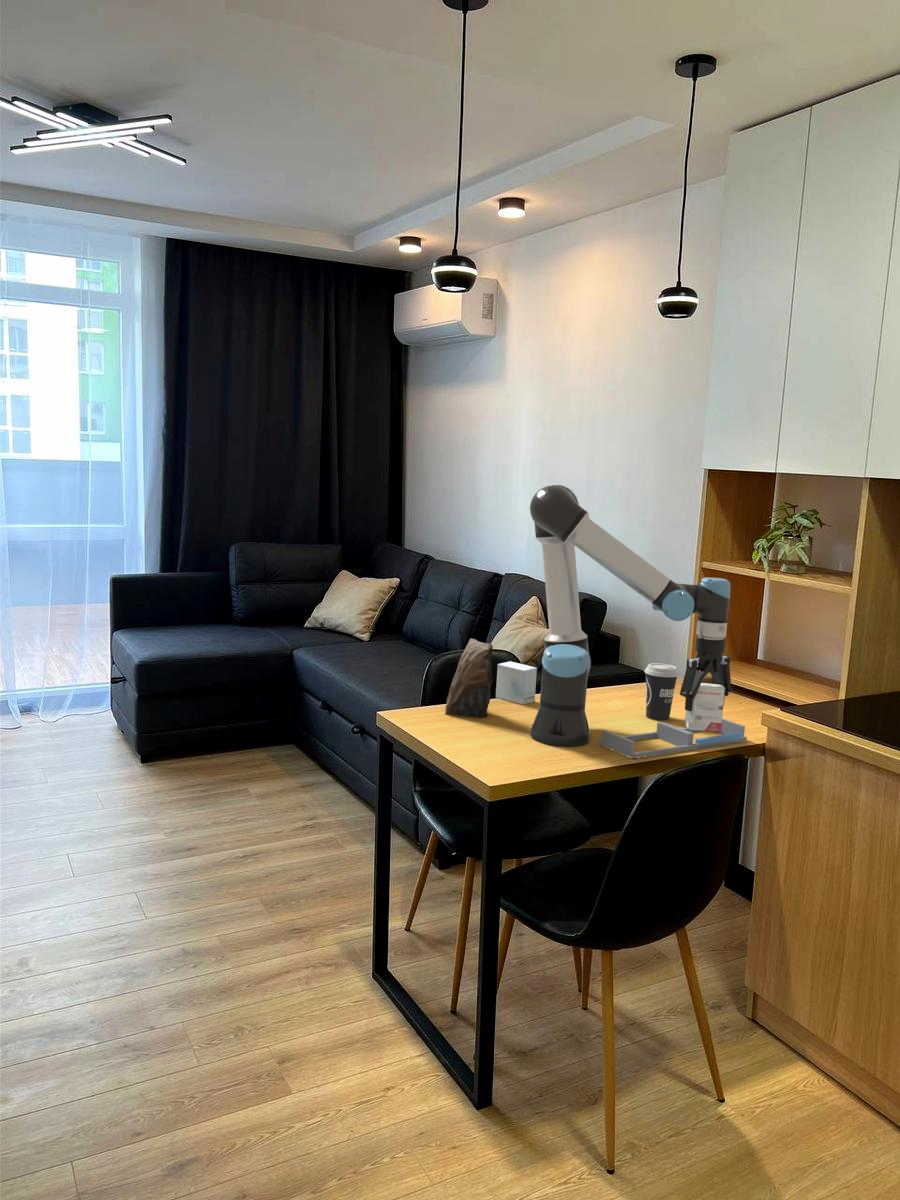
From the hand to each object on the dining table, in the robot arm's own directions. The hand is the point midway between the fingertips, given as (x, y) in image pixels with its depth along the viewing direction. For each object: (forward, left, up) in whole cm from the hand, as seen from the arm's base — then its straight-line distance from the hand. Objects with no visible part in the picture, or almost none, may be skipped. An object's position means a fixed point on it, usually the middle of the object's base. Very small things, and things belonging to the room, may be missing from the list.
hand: (703, 720), depth 243 cm
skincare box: (-24, +52, -5) cm, 57 cm away
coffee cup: (+4, +21, -5) cm, 22 cm away
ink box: (0, 0, -2) cm, 2 cm away
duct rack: (-10, 0, -5) cm, 11 cm away
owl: (-46, +45, -5) cm, 64 cm away
